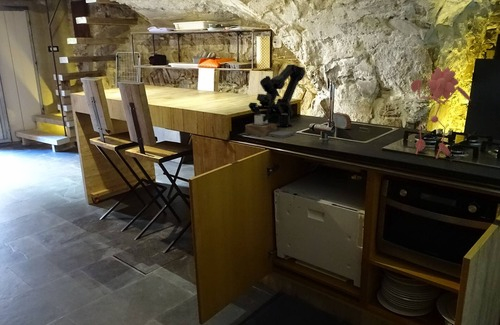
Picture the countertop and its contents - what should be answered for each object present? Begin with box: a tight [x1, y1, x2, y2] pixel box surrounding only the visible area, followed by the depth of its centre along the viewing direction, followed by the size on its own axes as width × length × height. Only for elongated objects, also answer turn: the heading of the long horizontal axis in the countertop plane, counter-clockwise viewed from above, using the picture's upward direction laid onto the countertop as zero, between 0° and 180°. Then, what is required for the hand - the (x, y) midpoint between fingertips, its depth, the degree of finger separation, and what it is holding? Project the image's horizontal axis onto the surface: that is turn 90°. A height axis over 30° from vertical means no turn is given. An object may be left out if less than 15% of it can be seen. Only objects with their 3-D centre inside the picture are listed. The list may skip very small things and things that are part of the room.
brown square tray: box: [244, 122, 278, 137], centre depth 217 cm, size 12×12×5 cm
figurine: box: [410, 67, 471, 162], centre depth 164 cm, size 15×26×35 cm, turn 34°
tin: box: [332, 111, 352, 130], centre depth 226 cm, size 15×3×8 cm, turn 25°
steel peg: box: [254, 113, 269, 126], centre depth 216 cm, size 5×5×8 cm
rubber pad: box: [268, 129, 296, 139], centre depth 211 cm, size 10×10×2 cm
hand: (259, 120), depth 215 cm, fingers closed on steel peg, 5 cm apart
